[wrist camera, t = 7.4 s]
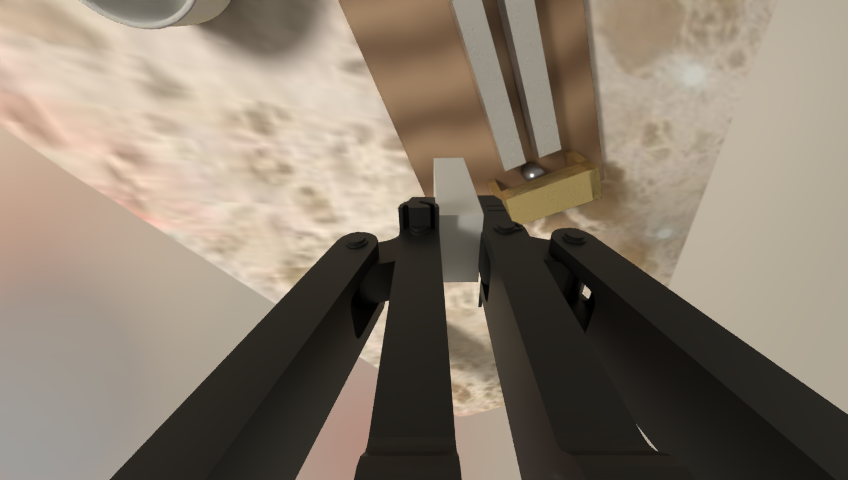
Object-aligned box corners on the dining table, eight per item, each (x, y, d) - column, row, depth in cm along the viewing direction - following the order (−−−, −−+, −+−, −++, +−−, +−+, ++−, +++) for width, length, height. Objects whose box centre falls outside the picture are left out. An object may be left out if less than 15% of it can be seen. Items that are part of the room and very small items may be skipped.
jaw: (429, -58, 23) (430, -69, 21) (455, -73, 22) (458, -86, 20) (499, 163, 31) (505, 171, 29) (519, 155, 31) (526, 163, 29)
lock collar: (486, 181, 33) (497, 203, 28) (572, 149, 31) (598, 166, 26) (494, 206, 34) (505, 230, 29) (577, 176, 32) (602, 197, 28)
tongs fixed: (456, -73, 23) (460, -88, 20) (503, -99, 22) (513, -117, 20) (522, 180, 33) (530, 191, 30) (556, 168, 32) (566, 178, 30)
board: (340, -3, 26) (335, -6, 25) (558, -124, 22) (567, -135, 21) (442, 229, 38) (442, 235, 36) (596, 174, 34) (603, 179, 33)
